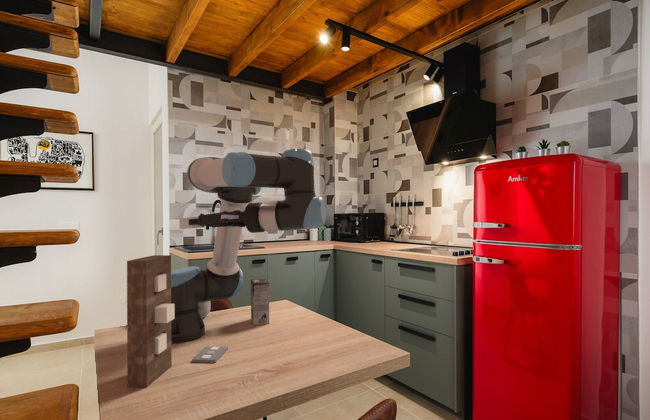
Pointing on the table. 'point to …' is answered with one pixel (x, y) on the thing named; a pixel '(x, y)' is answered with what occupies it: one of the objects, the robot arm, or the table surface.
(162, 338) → the bottom key
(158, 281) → the top key
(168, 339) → the switch panel
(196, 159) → the robot arm
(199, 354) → the pattern card
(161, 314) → the middle key
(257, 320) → the coffee box
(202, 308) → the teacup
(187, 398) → the table surface
